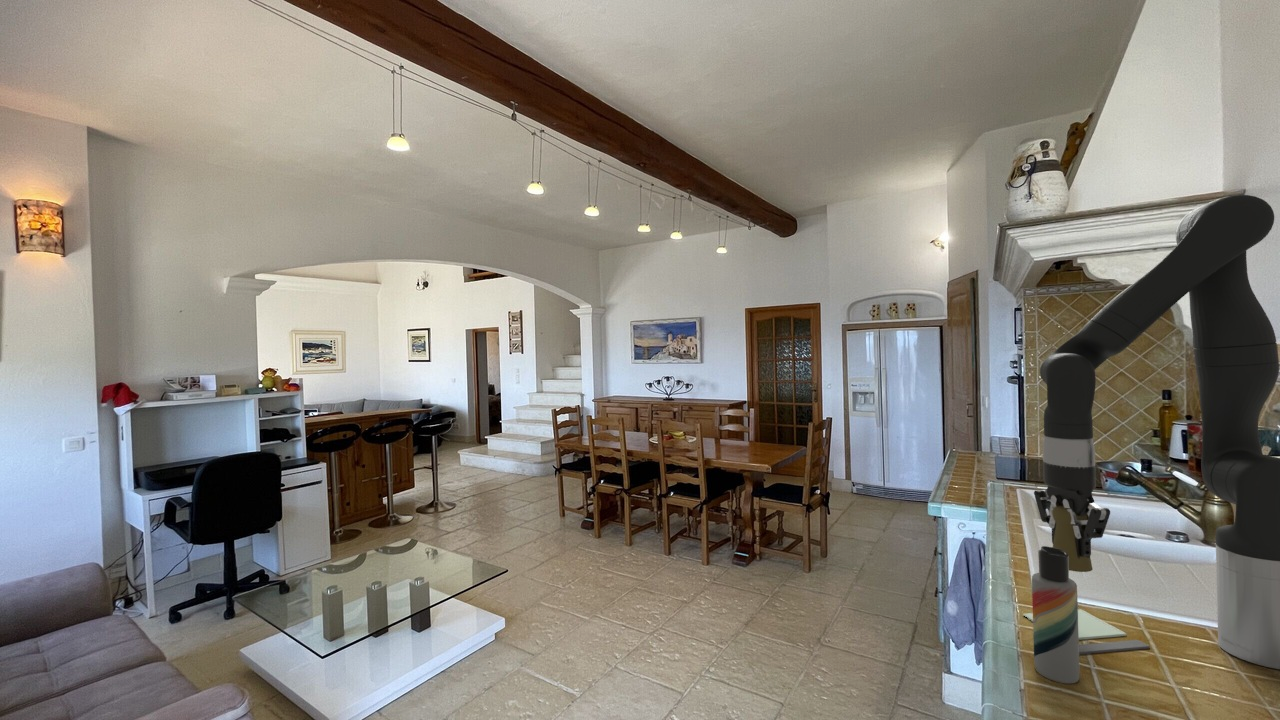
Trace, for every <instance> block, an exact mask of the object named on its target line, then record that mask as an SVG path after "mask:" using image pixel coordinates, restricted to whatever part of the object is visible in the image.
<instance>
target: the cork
mask: <svg viewBox="0 0 1280 720" xmlns="http://www.w3.org/2000/svg"><path fill="white" fill-rule="evenodd" d="M1052 516H1053V519H1054V520H1055V521H1056V528H1055V535H1054V542H1053V543H1052V547H1054V548H1058V549H1060V550H1063V551H1064V552H1066V553H1067V554H1068V557H1069V572H1070V571H1071V572H1076V573H1088V572H1092V571H1093V563H1092V559H1091V556H1090V557H1089V558H1087V557H1082V556H1081V557H1080V559H1079V558H1078V557H1077V550H1076V543H1075V538H1076V537H1075V534H1074V530H1073V525H1072V524H1071V516H1070V512H1068V511H1067V510H1066V509H1065V508H1064V506H1057V507H1054V508H1053V511H1052ZM1076 519H1077V520H1079V521H1081V520H1087V514H1086V516H1077V515H1076ZM1084 526H1085V525H1081V530H1082V531H1084V528H1083V527H1084Z"/></svg>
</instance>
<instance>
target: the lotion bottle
mask: <svg viewBox="0 0 1280 720" xmlns="http://www.w3.org/2000/svg"><path fill="white" fill-rule="evenodd" d="M1037 553H1038V554H1037V555H1038V572H1036V573H1033V574H1032V576H1031V598H1032V599H1031V600H1032V602H1031V603H1032V613H1033V622H1032V632H1033V633H1032V635H1033V638H1032V639H1033V660H1034V661H1033V662H1034V668H1035V670H1036V672H1037V673H1039V675H1041V676H1042V677H1045V678H1047V679H1048V680H1050V681H1054V682H1057V683H1061V684H1068V685H1069V684H1075V683H1077V682H1078V681H1079V680H1080V655H1079V645H1080V644H1079V643H1080V642H1079V641H1080V640H1079V636H1078V609H1079V608H1078V607H1079V606H1078V601H1079V600H1078V585H1077V582H1075V581H1074V580H1073V579H1071V578H1070V576H1069V575H1070V574H1069V572H1070V570H1069V557H1068V554H1067V553H1066V552H1064V551H1063V550H1060V549H1058V548H1054V547H1053V546H1048V545H1047V546H1046V545H1042V546H1041V547H1040V548H1039V549H1038V551H1037Z"/></svg>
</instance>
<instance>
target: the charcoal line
mask: <svg viewBox="0 0 1280 720" xmlns="http://www.w3.org/2000/svg"><path fill="white" fill-rule="evenodd" d="M1150 648H1151V646H1150V645H1149V644H1147V643H1145V642H1143V641H1141V640H1139V639H1131V640H1120V641H1118V640H1117V641H1107V642H1096V643H1095V642H1094V643H1085V644H1084V643H1083V644H1079V656H1080V655H1089V654H1090V655H1091V654H1100V653H1101V654H1103V653H1112V652H1124V651H1126V652H1127V651H1137V650H1146V649H1150Z"/></svg>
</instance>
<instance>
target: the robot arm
mask: <svg viewBox="0 0 1280 720" xmlns="http://www.w3.org/2000/svg"><path fill="white" fill-rule="evenodd" d="M1274 223H1275V212H1274V209H1273V207H1272V206H1271V205H1270V204H1269V203H1268V202H1267V201H1266V200H1265V199H1263V198H1260V197H1257V196H1255V195H1249V194H1235V195H1227V196H1225V197H1220V198H1217V199H1215V200H1212V201H1210V202H1208V203H1205V204H1203V205H1200V206H1198V207H1196V208H1194V209H1191V211H1189V212H1187V213H1186V215H1184V216H1183V217H1182V219H1181V220H1180V221H1179V223H1178V225H1177V227H1176V232H1175V241H1176V246H1175V247H1174V248H1173V249H1172V250H1171V251H1170V252H1169V253H1168V254H1167V255H1165V257H1163V258H1162V260H1160V262H1158V263H1157V264H1156V265H1154V267H1152V268H1151V269H1150V270H1149V271H1148V272H1147V273H1145V274H1144V275H1142V276H1141V277H1140V278H1138V279H1137V280H1136V281H1134V282H1133V283H1132V284H1130V285H1128V287H1126V288H1125V289H1124V290H1122V291H1121V292H1120V293H1119V294H1118V295H1116V296H1114V298H1112V299H1111V300H1110V301H1109V302H1108V303H1107V304H1106V305H1104V306H1103V307H1102V308H1101V309H1100V310H1099V311H1098V312H1097V313H1096V314H1095V315H1093V316H1092V318H1091V319H1089V321H1087V323H1085V325H1084V326H1083V327H1082V328H1081V329H1080V330H1079V331H1078V332H1077V333H1076V334H1075V335H1073V336H1071V337H1070V338H1069V339H1068V340H1067V341H1065V342H1064V343H1063V344H1060V346H1059V347H1058V348H1056V349H1055V350H1054V351H1052V353H1051V354H1050V355H1048V356H1047V357H1046V358H1045V359H1044V361H1043V362H1042V363H1041V366H1040V368H1039V373H1040V378H1041V380H1042V381H1043V383H1045V385H1046V394H1047V395H1046V399H1047V401H1046V402H1047V403H1046V407H1045V409H1044V412H1043V434H1044V435H1043V443H1042V470H1043V483H1044V484H1045V485H1046V486H1047V488H1046V489H1041V490H1040V489H1038V490H1034V492H1033V494H1034V497H1035V501H1036V506H1037V509H1038V513H1039V517H1040V520H1041V521H1042V523H1047V524H1048V526H1049V528H1050V529H1051V543H1052V544H1053V542H1054V535H1055V528H1056V521H1055V520H1054V519H1053V516H1052V511H1053V508H1054V507H1057V506H1064V508H1065V509H1066V510H1067V511H1068V512H1070V516H1071V524H1072V525H1073V530H1074V534H1075V537H1076V538H1075V543H1076V550H1077V557H1078V558H1079V559H1080V557H1081V556H1082V557H1087V558H1089V557H1090V558H1091V555H1092V539H1101V538H1103V536H1104V533H1105V531H1106V527H1107V524H1108V522H1109V518H1110V515H1111V510H1110V509H1109V508H1108V507H1100V505H1098V504H1096V503H1095V500H1094V496H1093V491H1094V490H1095V489H1096V488H1097V476H1096V475H1097V473H1096V472H1097V471H1096V468H1097V467H1096V447H1095V444H1094V433H1093V431H1094V427H1093V426H1094V425H1093V417H1092V416H1093V415H1092V413H1093V412H1092V411H1093V406H1094V405H1093V404H1094V400H1095V393H1096V392H1095V391H1096V386H1097V385H1096V371H1095V370H1096V369H1098V368H1099V367H1100V366H1101V365H1102V364H1104V362H1105V361H1107V360H1108V359H1110V358H1112V357H1113V356H1116V355H1118V354H1120V353H1121V352H1123V351H1124V350H1125V349H1127V348H1129V346H1130V345H1131V344H1133V342H1135V341H1136V340H1137V339H1138V338H1139V337H1140V336H1141V335H1143V333H1145V332H1146V331H1147V330H1148V329H1149V328H1151V326H1152V325H1154V324H1155V322H1157V321H1158V320H1159V319H1160V318H1161V317H1162V316H1163V315H1164V314H1165V313H1167V312H1168V311H1169V310H1170V309H1171V308H1172V307H1174V306H1175V304H1177V303H1178V302H1179V301H1180V300H1181V299H1182V298H1184V297H1185V296H1186V295H1187V294H1188V296H1189V297H1188V298H1189V313H1190V322H1191V323H1190V324H1191V330H1192V334H1191V335H1192V348H1193V355H1194V357H1193V358H1194V364H1195V365H1194V366H1195V370H1196V371H1195V372H1196V376H1197V382H1198V393H1199V403H1200V412H1201V423H1202V426H1201V427H1202V430H1201V435H1202V436H1201V456H1200V457H1201V459H1200V461H1201V463H1200V465H1201V466H1200V467H1201V469H1200V470H1201V476H1202V480H1203V483H1204V485H1205V486H1206V488H1207V490H1208V491H1209V492H1211V494H1212V495H1213V496H1216V497H1217V498H1218V499H1220V500H1223V501H1225V502H1228V503H1231V504H1233V505H1235V514H1234V515H1235V517H1234V523H1233V524H1226V525H1225V524H1224V525H1221V526H1219V527H1217V528H1216V530H1215V561H1216V564H1215V565H1216V572H1215V573H1216V607H1217V608H1216V609H1217V611H1216V613H1217V614H1216V615H1217V644H1218V646H1219V647H1220V648H1221V649H1222V650H1223V651H1224V652H1227V653H1228V654H1230V655H1232V656H1234V657H1236V658H1238V659H1240V660H1243V661H1245V662H1249V663H1252V664H1255V665H1257V666H1258V665H1259V666H1262V667H1267V668H1270V669H1275V670H1280V457H1276V456H1271V455H1267V454H1263V450H1262V448H1261V443H1260V441H1261V440H1260V434H1259V419H1260V418H1259V417H1260V414H1261V412H1262V409H1263V408H1264V405H1265V403H1266V401H1267V400H1268V398H1269V397H1270V395H1271V394H1272V391H1273V389H1274V388H1275V386H1276V383H1277V380H1278V377H1279V373H1280V361H1279V354H1278V353H1279V352H1278V346H1277V337H1276V332H1275V330H1274V327H1273V324H1272V323H1271V322H1272V321H1270V318H1269V317H1268V315H1267V313H1266V312H1265V310H1264V308H1263V306H1262V305H1261V303H1260V302H1259V300H1258V298H1257V297H1256V295H1255V293H1254V291H1253V289H1252V286H1251V284H1250V281H1249V275H1248V265H1247V264H1248V263H1247V262H1248V261H1247V260H1248V259H1247V251H1248V250H1249V249H1251V248H1253V247H1255V246H1256V245H1257V244H1258V243H1260V242H1262V241H1264V239H1265V238H1266V237H1267V236H1268V235H1269V234H1270V232H1271V231H1272V228H1273V226H1274ZM1047 510H1048V512H1047ZM1086 514H1087V520H1081V521H1079V520H1077V519H1076V515H1077V516H1086ZM1081 525H1085V526H1084V527H1083V528H1084V531H1082V530H1081Z"/></svg>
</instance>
